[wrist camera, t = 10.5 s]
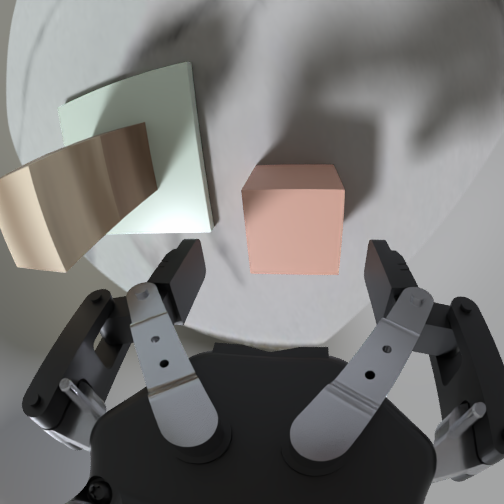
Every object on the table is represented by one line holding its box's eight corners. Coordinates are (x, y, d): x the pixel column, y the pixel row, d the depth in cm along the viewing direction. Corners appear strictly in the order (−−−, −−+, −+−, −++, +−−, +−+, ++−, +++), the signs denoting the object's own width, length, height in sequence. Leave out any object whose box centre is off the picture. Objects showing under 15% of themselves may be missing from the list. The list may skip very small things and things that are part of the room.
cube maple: (99, 135, 12) (28, 166, 7) (120, 220, 14) (66, 272, 10) (46, 154, 12) (-14, 185, 8) (66, 224, 15) (17, 267, 11)
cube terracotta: (333, 164, 16) (345, 189, 12) (331, 232, 19) (338, 274, 15) (256, 164, 17) (241, 190, 13) (261, 232, 20) (250, 273, 16)
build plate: (191, 62, 14) (186, 61, 13) (214, 227, 20) (211, 232, 20) (63, 106, 16) (57, 107, 15) (94, 230, 22) (89, 235, 22)
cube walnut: (145, 122, 16) (99, 136, 12) (157, 189, 18) (120, 221, 14) (92, 136, 17) (45, 155, 12) (106, 195, 19) (66, 225, 15)
